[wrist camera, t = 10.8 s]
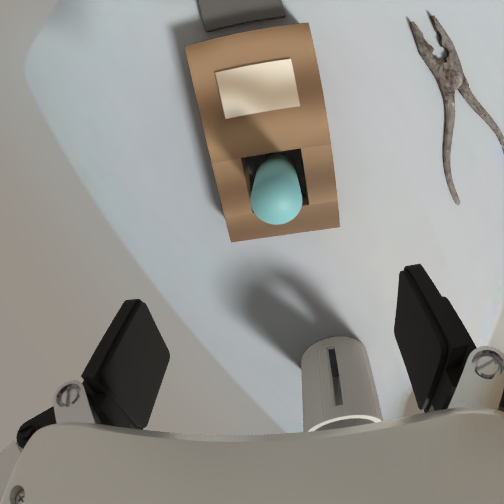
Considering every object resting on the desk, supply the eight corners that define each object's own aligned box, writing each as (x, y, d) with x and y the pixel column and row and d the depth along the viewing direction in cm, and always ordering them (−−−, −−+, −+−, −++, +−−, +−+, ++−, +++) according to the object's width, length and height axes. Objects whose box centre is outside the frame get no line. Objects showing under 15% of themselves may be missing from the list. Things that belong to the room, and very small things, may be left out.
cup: (327, 387, 43) (334, 456, 33) (287, 360, 40) (287, 437, 30) (378, 357, 39) (396, 429, 29) (341, 325, 37) (357, 405, 26)
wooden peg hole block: (193, 50, 23) (184, 46, 21) (305, 29, 22) (308, 22, 19) (235, 228, 32) (230, 243, 29) (334, 214, 30) (340, 228, 27)
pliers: (463, 218, 28) (362, 55, 22) (459, 214, 29) (359, 56, 23) (517, 171, 25) (431, 10, 18) (513, 169, 25) (427, 11, 19)
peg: (253, 157, 28) (245, 180, 21) (292, 150, 27) (298, 172, 20) (260, 193, 30) (255, 228, 23) (298, 187, 29) (305, 220, 22)
